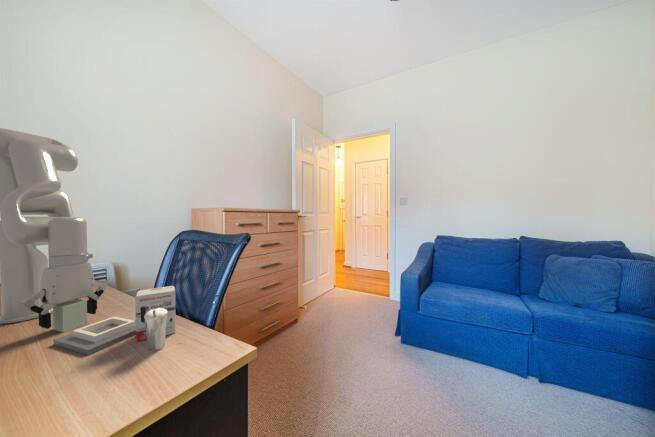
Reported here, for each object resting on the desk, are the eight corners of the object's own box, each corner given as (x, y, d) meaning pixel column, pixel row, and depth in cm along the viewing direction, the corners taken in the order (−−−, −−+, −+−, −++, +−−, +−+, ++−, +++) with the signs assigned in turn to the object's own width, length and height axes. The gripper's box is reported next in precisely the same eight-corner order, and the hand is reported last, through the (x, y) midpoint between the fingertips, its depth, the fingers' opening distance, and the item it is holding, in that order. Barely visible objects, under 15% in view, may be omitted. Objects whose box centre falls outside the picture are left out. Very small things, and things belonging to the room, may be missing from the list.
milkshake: (142, 356, 54) (141, 312, 54) (147, 345, 58) (146, 304, 58) (166, 351, 56) (165, 308, 56) (169, 340, 61) (168, 301, 60)
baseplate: (53, 344, 59) (53, 333, 59) (119, 320, 72) (118, 311, 72) (88, 355, 55) (88, 343, 54) (151, 327, 68) (151, 318, 68)
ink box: (135, 342, 60) (134, 295, 60) (137, 334, 64) (136, 290, 64) (176, 333, 64) (175, 289, 64) (175, 326, 69) (174, 285, 68)
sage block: (53, 329, 67) (52, 304, 67) (76, 322, 72) (76, 298, 72) (63, 332, 66) (62, 306, 66) (86, 324, 70) (86, 300, 70)
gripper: (98, 255, 78) (99, 307, 78) (14, 265, 62) (16, 332, 62) (112, 256, 75) (114, 310, 76) (30, 267, 59) (32, 336, 59)
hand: (70, 320), depth 69 cm, fingers open, 9 cm apart
